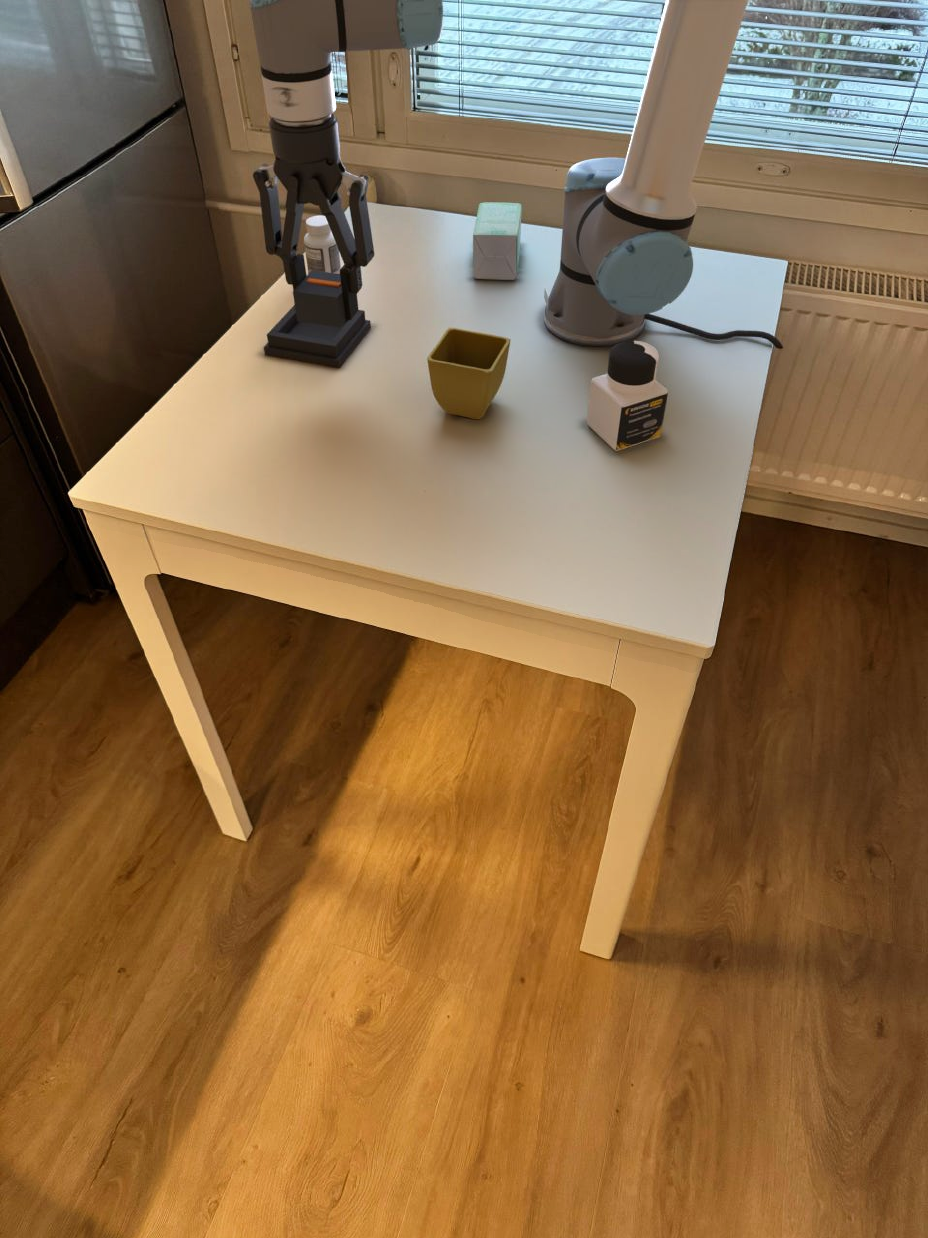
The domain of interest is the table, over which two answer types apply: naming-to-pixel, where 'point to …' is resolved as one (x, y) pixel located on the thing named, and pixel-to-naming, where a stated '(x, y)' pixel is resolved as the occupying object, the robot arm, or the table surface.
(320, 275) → the dark grey square block
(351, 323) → the base pad
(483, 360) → the flower pot
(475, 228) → the box
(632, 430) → the medicine bottle
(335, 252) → the pill bottle
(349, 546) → the table surface
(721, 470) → the table surface
